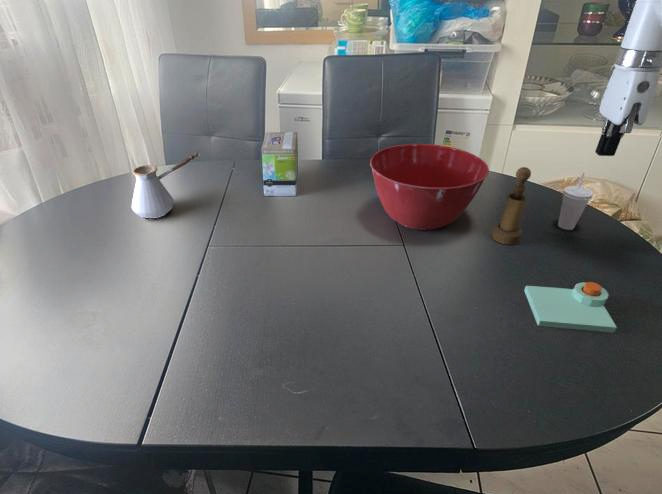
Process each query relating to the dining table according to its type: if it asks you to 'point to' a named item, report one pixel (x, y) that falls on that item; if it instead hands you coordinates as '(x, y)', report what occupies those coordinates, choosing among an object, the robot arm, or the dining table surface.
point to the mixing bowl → (426, 183)
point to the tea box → (280, 163)
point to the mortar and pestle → (513, 212)
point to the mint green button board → (570, 308)
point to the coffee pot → (153, 191)
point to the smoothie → (573, 205)
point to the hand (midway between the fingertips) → (604, 154)
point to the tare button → (592, 289)
